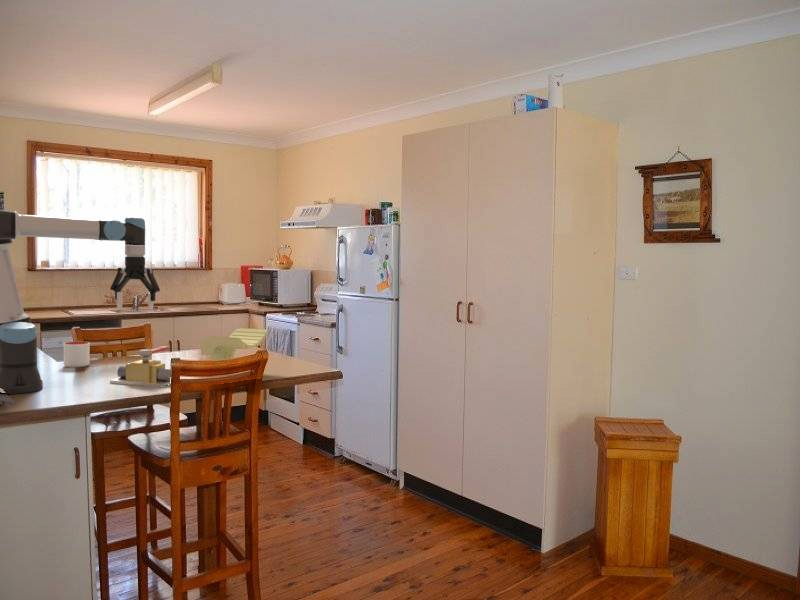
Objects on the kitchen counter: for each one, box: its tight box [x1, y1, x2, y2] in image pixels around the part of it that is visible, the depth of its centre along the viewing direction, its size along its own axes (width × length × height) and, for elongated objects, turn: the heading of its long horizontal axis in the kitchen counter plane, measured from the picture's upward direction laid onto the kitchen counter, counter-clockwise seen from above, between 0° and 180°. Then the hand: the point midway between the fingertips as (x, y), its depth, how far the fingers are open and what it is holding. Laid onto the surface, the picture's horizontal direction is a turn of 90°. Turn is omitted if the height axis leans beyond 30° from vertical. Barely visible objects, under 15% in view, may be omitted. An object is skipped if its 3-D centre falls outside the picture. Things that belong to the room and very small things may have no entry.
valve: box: [109, 356, 172, 388], centre depth 241 cm, size 22×12×10 cm, turn 80°
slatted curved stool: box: [200, 327, 269, 361], centre depth 262 cm, size 30×16×18 cm, turn 171°
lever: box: [139, 345, 171, 357], centre depth 247 cm, size 17×4×2 cm, turn 170°
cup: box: [63, 341, 91, 368], centre depth 270 cm, size 10×10×10 cm
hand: (135, 308), depth 254 cm, fingers open, 13 cm apart
